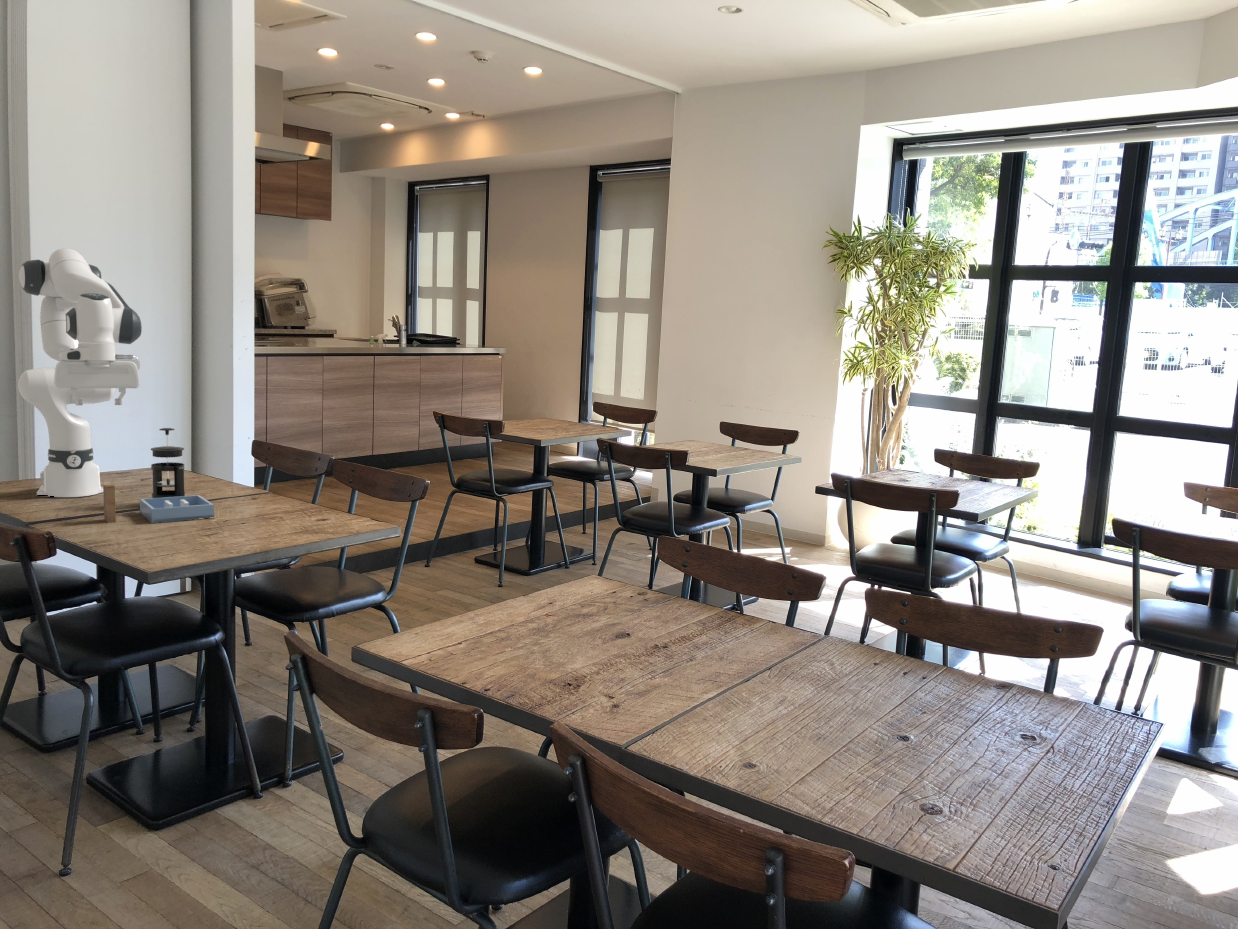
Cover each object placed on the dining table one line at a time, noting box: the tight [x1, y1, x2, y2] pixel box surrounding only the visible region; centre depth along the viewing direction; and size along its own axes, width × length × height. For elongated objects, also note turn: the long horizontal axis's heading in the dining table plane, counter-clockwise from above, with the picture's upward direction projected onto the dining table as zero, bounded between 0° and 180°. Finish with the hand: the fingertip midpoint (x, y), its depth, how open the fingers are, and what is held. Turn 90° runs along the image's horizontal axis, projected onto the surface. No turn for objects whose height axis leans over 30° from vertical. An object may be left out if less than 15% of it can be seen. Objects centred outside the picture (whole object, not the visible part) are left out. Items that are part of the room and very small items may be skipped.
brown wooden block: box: [102, 482, 117, 524], centre depth 253 cm, size 5×2×10 cm, turn 38°
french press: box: [150, 427, 186, 498], centre depth 277 cm, size 12×9×23 cm
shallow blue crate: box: [139, 494, 215, 524], centre depth 263 cm, size 16×16×4 cm
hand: (98, 405), depth 252 cm, fingers open, 8 cm apart
